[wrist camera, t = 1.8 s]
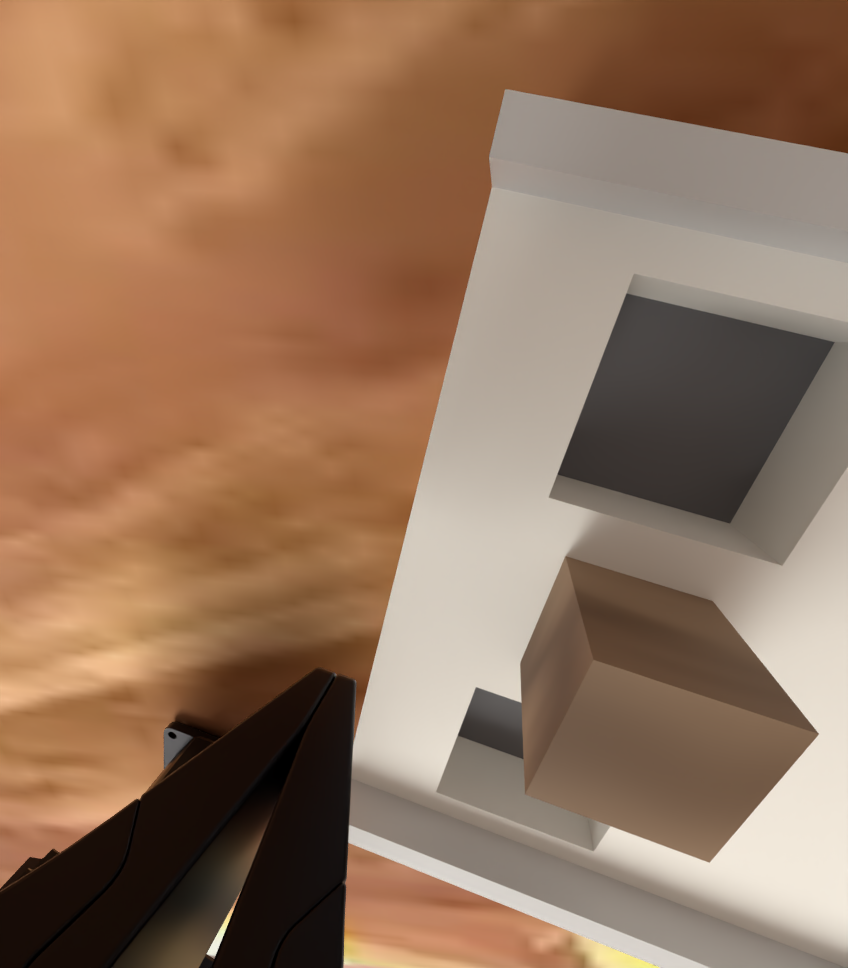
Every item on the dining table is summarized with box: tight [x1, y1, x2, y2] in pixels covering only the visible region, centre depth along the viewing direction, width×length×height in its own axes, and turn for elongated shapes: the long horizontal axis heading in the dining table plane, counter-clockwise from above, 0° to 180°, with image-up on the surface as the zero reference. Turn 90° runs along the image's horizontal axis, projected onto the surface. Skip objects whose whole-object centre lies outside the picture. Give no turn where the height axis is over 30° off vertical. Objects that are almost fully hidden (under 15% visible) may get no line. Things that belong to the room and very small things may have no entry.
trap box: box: [348, 89, 848, 968], centre depth 12 cm, size 22×20×4 cm
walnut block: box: [520, 556, 819, 863], centre depth 10 cm, size 4×4×4 cm
